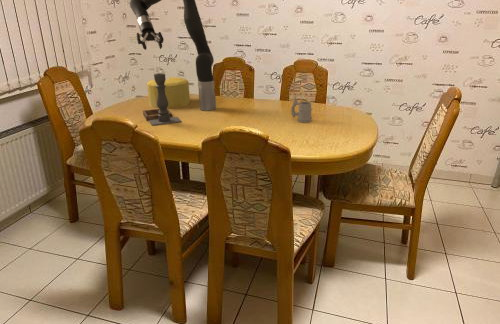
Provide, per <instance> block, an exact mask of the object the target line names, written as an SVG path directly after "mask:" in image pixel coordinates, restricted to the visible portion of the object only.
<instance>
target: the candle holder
mask: <svg viewBox="0 0 500 324" xmlns="http://www.w3.org/2000/svg"><path fill="white" fill-rule="evenodd" d="M153 76H154V77H153V79H154V80H155V82H156V84H157V85H156V88H157V91H158V97H157V106H158V107H159V108H158V109H160V110H159V112H158V114H157V115H158V120H159V122H168V121H170V114H169V111H170V110H169V109H168V108H167V107H168V100H167V97H166V94H165V87H166V85H164V83H165V80H167V79H166V73H165V72H164V73H162V72H159V73H154V74H153ZM167 109H168V110H169V111H168V110H167Z"/></svg>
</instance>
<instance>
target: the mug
mask: <svg viewBox="0 0 500 324" xmlns="http://www.w3.org/2000/svg"><path fill="white" fill-rule="evenodd" d="M291 105H292V106H291V109H290V114H291V116H292V118H293V119H294V118H295V117H297V121H298V122H299V123H302V124H303V123H304V124H307V123H311V122H312V120H313V116H312V109H313V108H312V102H310V101H300V102H298V100H297V98H296V97H294V98H293V103H292V104H291ZM296 106H298V111H297V112H296V110H295V109H296Z"/></svg>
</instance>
